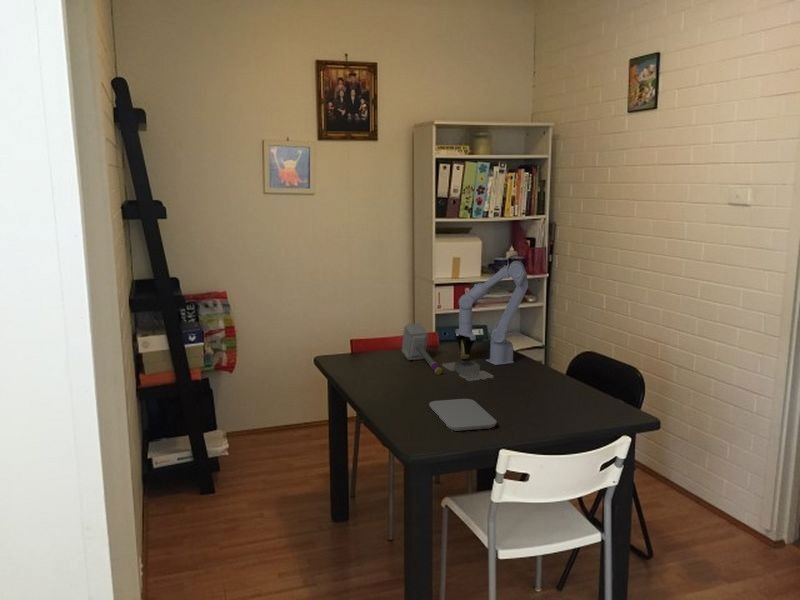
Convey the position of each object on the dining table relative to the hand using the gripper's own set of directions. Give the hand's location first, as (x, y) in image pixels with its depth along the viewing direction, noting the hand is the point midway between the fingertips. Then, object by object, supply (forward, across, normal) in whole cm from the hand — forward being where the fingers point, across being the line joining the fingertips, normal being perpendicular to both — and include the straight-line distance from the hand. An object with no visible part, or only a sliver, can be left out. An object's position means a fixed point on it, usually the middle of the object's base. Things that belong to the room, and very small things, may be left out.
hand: (465, 353), depth 296 cm
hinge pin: (+2, 0, 0) cm, 2 cm away
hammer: (+3, +1, -20) cm, 20 cm away
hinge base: (+3, +16, -8) cm, 18 cm away
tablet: (+4, +63, -35) cm, 72 cm away
